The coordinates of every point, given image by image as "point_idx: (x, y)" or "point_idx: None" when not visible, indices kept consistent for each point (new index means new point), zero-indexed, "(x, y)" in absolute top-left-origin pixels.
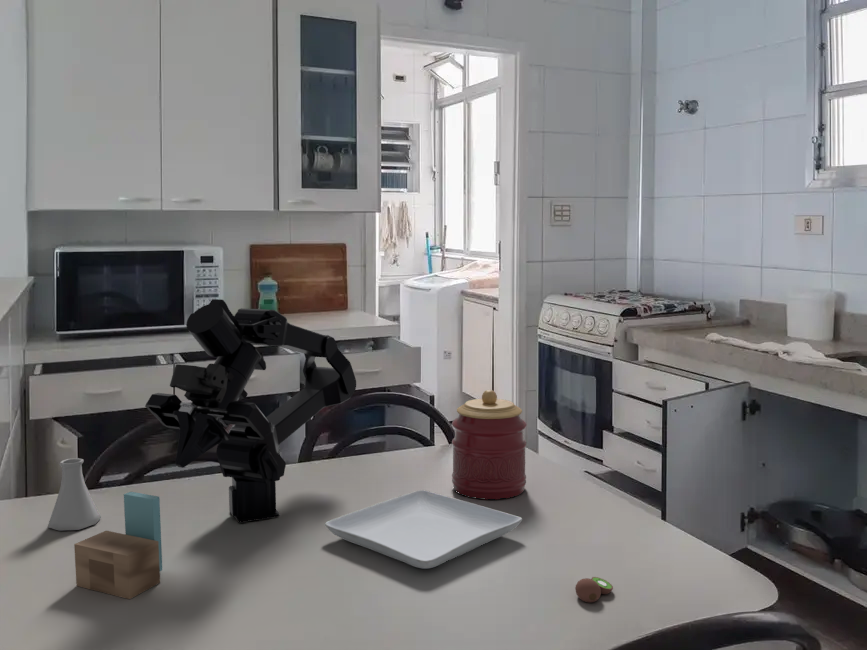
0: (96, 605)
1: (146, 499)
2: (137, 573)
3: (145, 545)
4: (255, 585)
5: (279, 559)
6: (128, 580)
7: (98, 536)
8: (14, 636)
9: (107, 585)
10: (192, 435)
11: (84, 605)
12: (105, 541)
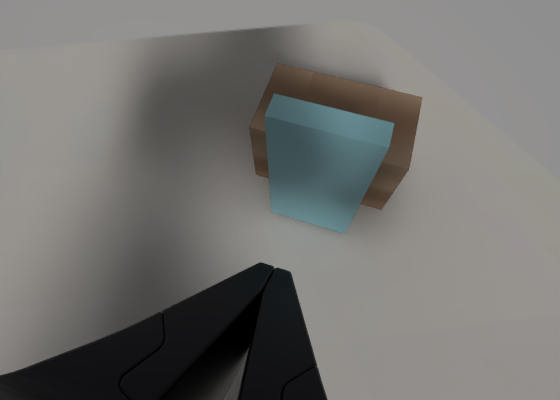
0: None
1: (298, 101)
2: None
3: (267, 105)
4: (80, 183)
5: (39, 305)
6: None
7: (401, 136)
8: (370, 28)
9: None
10: (166, 364)
11: None
12: (365, 114)
